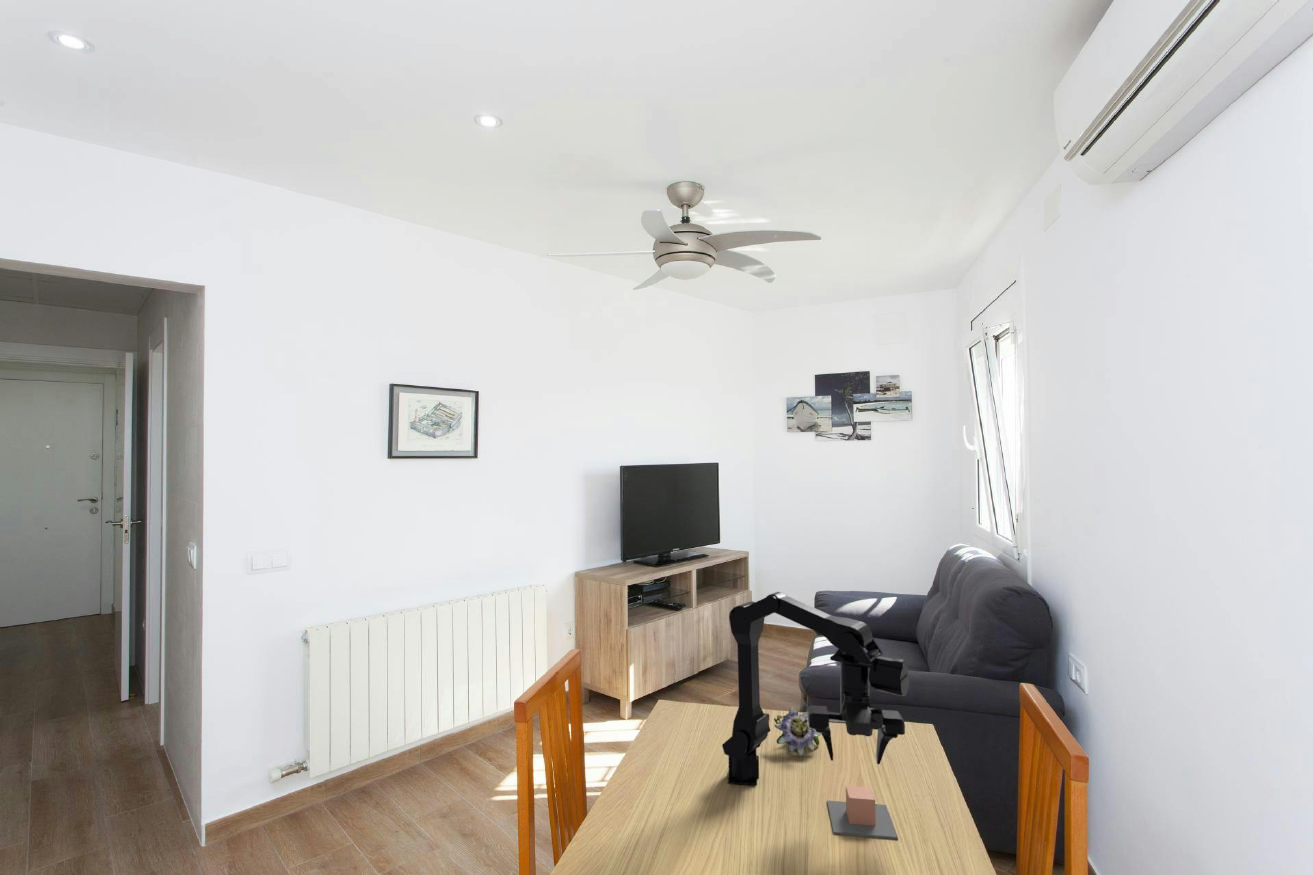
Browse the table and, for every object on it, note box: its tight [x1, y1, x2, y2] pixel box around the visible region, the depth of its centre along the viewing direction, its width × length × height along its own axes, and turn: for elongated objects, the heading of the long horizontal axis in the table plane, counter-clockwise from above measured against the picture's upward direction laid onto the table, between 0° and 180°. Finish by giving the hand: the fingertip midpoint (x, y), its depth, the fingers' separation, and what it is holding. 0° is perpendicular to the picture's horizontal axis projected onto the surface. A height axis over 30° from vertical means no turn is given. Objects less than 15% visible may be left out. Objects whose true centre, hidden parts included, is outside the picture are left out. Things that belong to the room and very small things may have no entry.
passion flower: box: [773, 706, 822, 757], centre depth 166 cm, size 11×11×12 cm
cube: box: [845, 785, 876, 826], centre depth 133 cm, size 5×5×5 cm
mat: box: [826, 799, 899, 840], centre depth 133 cm, size 12×12×1 cm
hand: (854, 761), depth 135 cm, fingers open, 9 cm apart
